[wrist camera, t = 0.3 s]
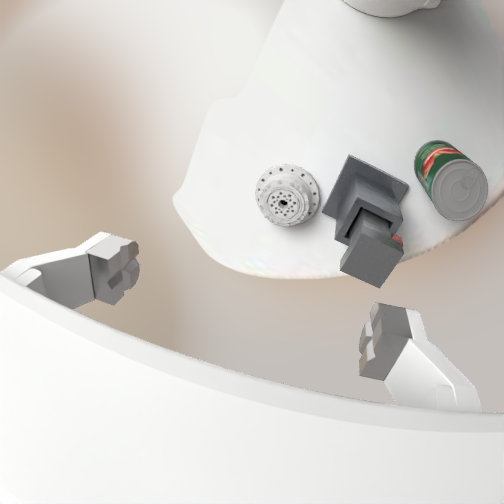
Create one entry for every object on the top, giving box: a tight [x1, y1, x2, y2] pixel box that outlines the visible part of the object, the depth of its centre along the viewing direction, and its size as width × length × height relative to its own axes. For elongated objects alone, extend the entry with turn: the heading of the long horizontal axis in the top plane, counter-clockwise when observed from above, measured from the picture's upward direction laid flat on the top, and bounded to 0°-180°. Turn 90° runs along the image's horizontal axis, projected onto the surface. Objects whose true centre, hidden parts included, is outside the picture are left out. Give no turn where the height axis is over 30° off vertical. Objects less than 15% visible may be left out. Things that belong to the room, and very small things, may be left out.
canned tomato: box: [414, 140, 488, 221], centre depth 35 cm, size 8×8×11 cm
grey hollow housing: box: [322, 155, 408, 247], centre depth 41 cm, size 10×10×12 cm
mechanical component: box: [255, 164, 319, 227], centre depth 48 cm, size 10×4×10 cm
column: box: [340, 207, 404, 288], centre depth 38 cm, size 5×5×17 cm
